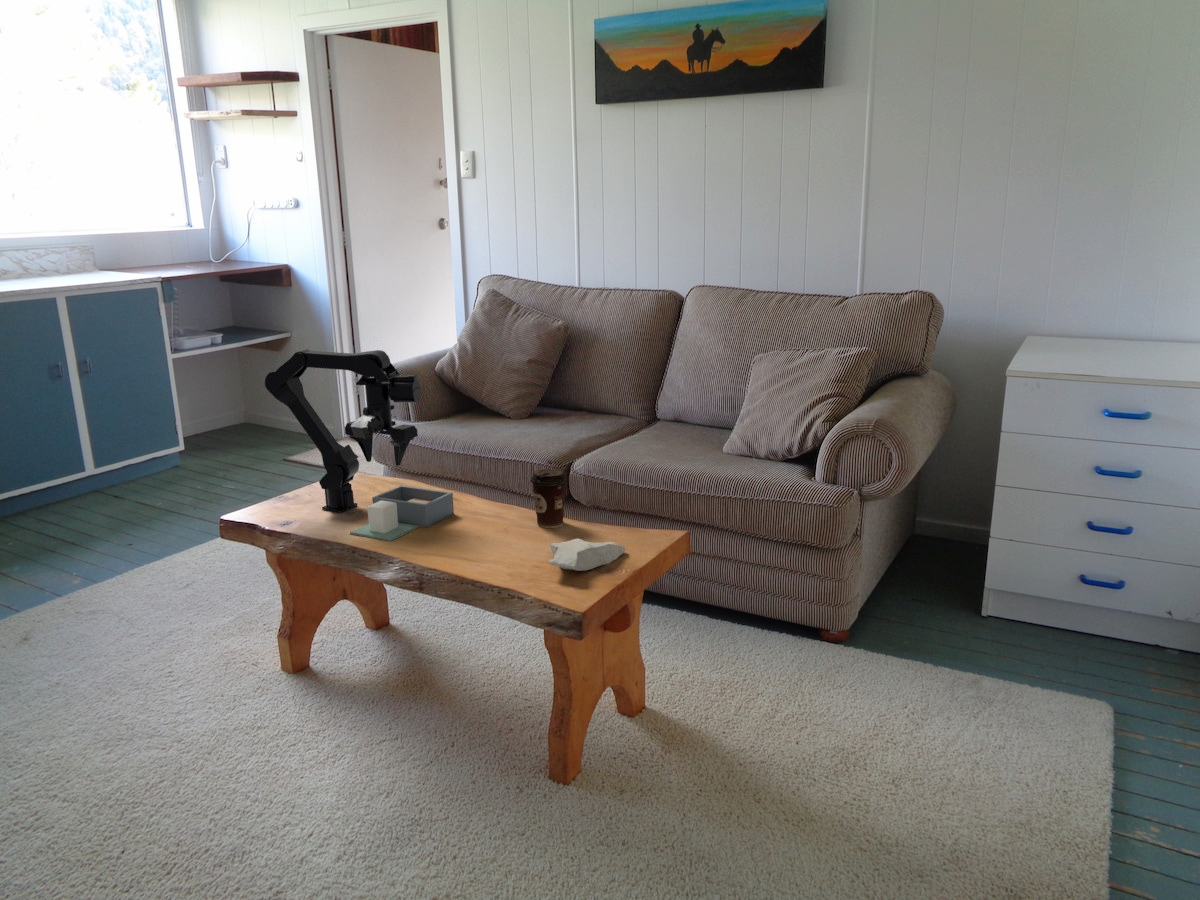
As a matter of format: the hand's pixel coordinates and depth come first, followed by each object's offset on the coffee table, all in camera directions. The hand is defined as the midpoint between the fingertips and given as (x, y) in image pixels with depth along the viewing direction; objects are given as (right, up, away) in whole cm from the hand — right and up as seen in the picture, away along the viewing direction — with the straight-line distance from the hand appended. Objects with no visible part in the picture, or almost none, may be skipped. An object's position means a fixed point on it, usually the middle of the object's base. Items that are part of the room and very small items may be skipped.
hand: (383, 463), depth 229 cm
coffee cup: (+42, -15, -11) cm, 46 cm away
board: (+3, -16, -13) cm, 21 cm away
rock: (+49, -21, -34) cm, 64 cm away
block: (+3, -15, -13) cm, 20 cm away
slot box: (+8, -13, -3) cm, 16 cm away
